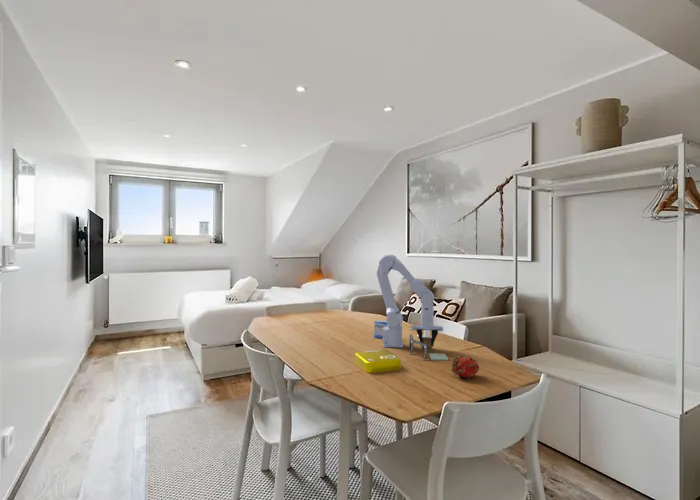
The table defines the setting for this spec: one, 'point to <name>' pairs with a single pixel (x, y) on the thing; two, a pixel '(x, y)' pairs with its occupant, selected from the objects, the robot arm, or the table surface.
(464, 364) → the dragon fruit
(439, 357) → the pad
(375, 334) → the medicine box
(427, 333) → the teacup and saucer
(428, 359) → the buzz wire
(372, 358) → the element tile
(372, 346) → the table surface
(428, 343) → the brown domed cylinder
